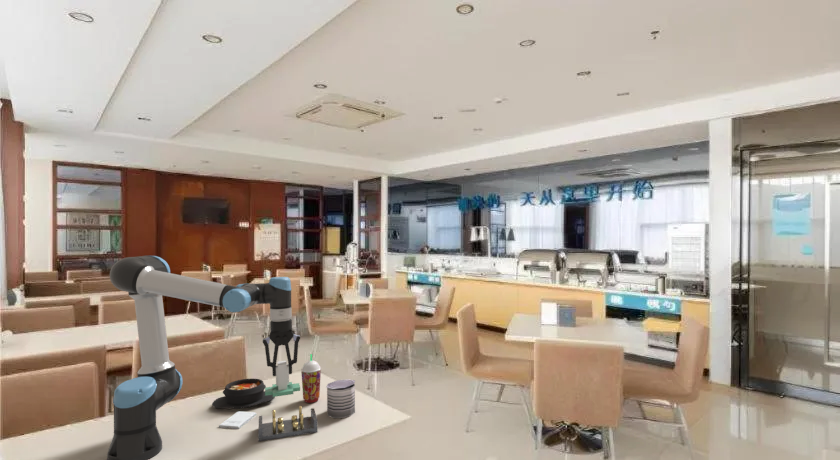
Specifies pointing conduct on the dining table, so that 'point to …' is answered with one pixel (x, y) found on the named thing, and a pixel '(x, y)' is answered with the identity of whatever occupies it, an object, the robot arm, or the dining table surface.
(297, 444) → the dining table surface
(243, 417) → the external hard drive
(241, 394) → the casserole
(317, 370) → the smoothie
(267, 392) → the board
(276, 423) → the chassis
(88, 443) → the dining table surface
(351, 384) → the can
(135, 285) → the robot arm
